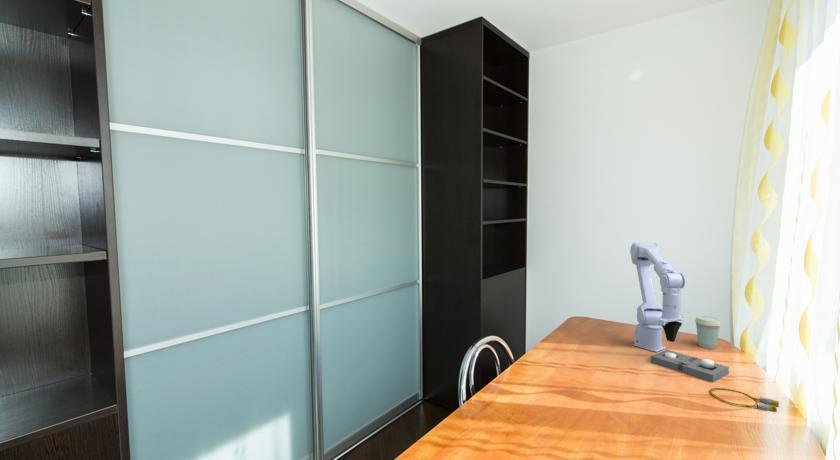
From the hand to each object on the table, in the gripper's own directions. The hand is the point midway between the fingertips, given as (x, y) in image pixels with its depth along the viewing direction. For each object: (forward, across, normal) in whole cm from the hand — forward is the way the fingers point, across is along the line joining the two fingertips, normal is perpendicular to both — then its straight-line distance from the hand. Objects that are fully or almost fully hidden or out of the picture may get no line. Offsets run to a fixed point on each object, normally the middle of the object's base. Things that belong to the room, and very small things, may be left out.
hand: (670, 340), depth 144 cm
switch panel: (+8, 0, -6) cm, 10 cm away
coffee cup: (+8, +30, 0) cm, 31 cm away
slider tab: (+6, -3, -6) cm, 9 cm away
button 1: (+7, 0, 0) cm, 7 cm away
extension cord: (+9, -13, -26) cm, 30 cm away
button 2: (+5, 0, -12) cm, 13 cm away
